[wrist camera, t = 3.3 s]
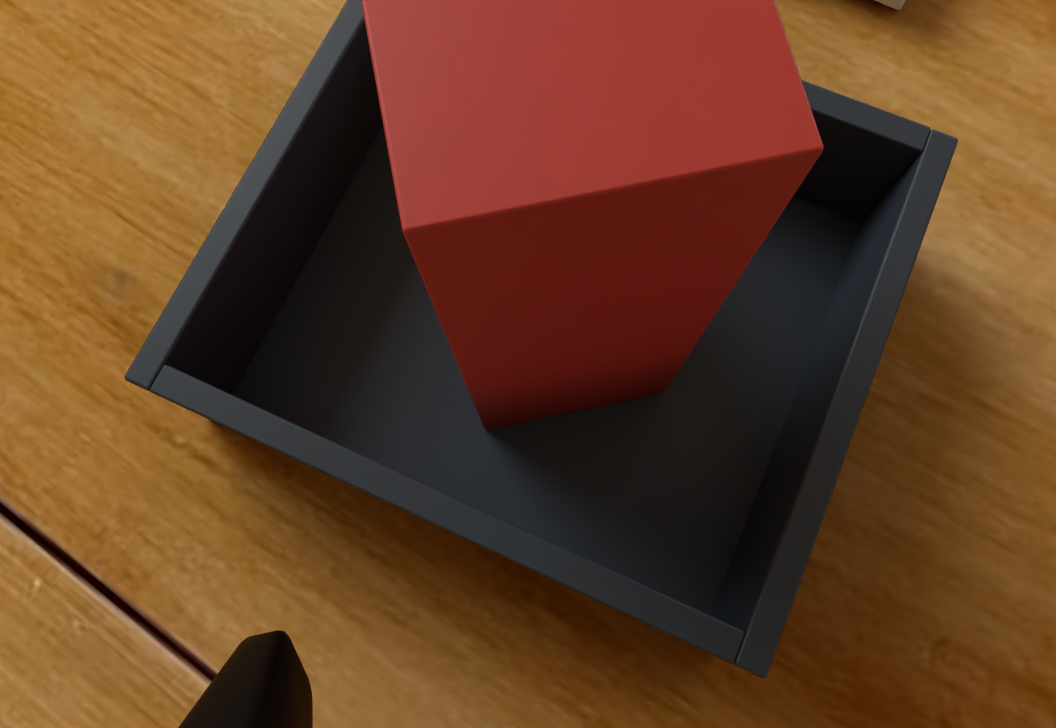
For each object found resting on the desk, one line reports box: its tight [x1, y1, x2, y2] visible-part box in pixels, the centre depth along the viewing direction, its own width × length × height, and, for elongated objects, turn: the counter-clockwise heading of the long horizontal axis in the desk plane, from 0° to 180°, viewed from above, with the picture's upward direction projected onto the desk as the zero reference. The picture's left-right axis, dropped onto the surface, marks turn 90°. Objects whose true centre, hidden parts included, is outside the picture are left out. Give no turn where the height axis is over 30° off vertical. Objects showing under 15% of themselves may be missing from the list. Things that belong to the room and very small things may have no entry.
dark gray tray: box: [125, 0, 958, 678], centre depth 21 cm, size 15×13×5 cm
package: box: [361, 0, 823, 430], centre depth 16 cm, size 6×5×13 cm
